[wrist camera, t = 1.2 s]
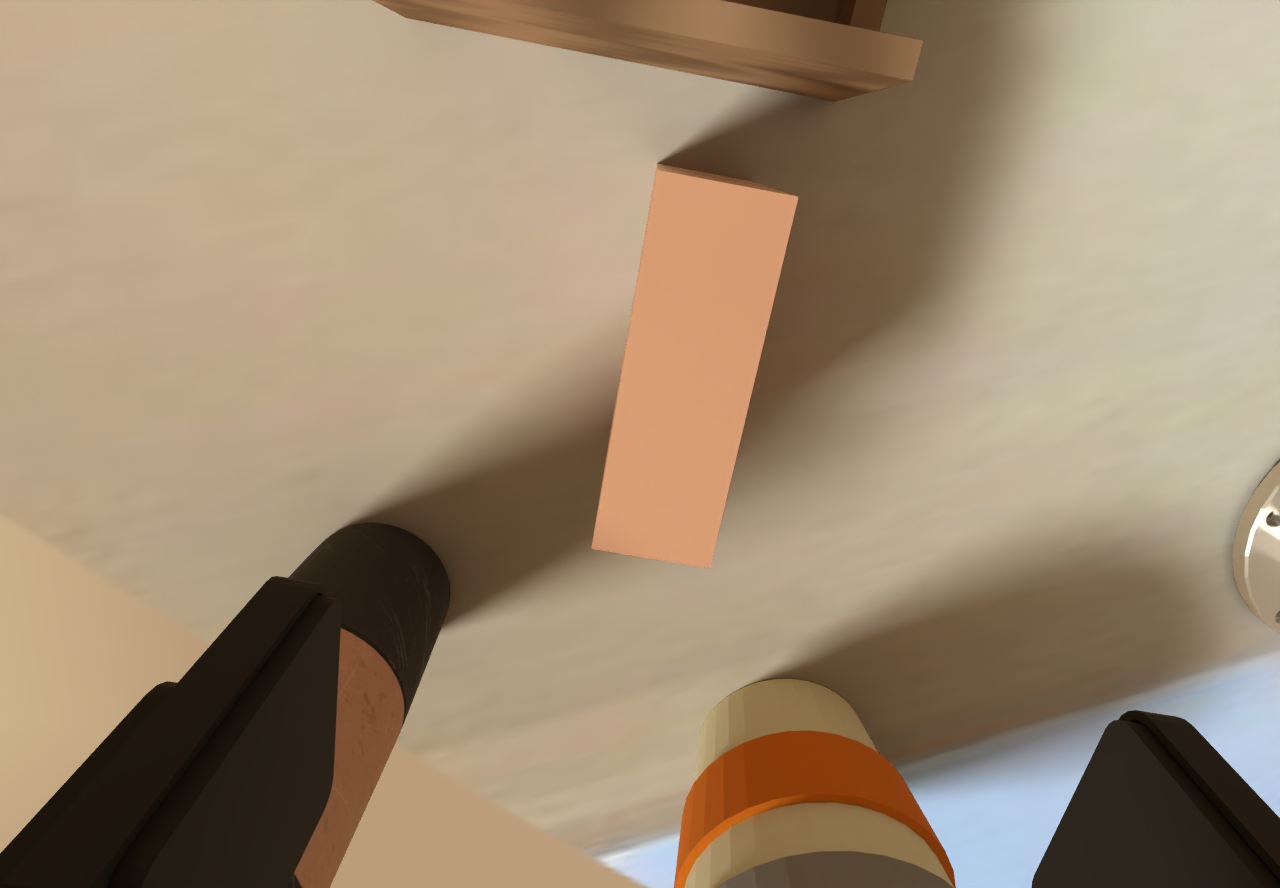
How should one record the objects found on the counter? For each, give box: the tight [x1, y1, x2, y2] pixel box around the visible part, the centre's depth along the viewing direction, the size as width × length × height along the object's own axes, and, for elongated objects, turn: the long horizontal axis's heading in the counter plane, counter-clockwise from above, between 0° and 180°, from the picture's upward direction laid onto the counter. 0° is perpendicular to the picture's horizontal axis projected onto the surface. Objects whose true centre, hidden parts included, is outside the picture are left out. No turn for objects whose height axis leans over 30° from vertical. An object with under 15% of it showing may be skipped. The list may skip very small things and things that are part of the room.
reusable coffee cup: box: [674, 679, 956, 888], centre depth 35 cm, size 12×13×15 cm
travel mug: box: [287, 523, 450, 888], centre depth 30 cm, size 8×8×20 cm
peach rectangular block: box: [591, 163, 798, 568], centre depth 29 cm, size 4×12×11 cm, turn 170°
